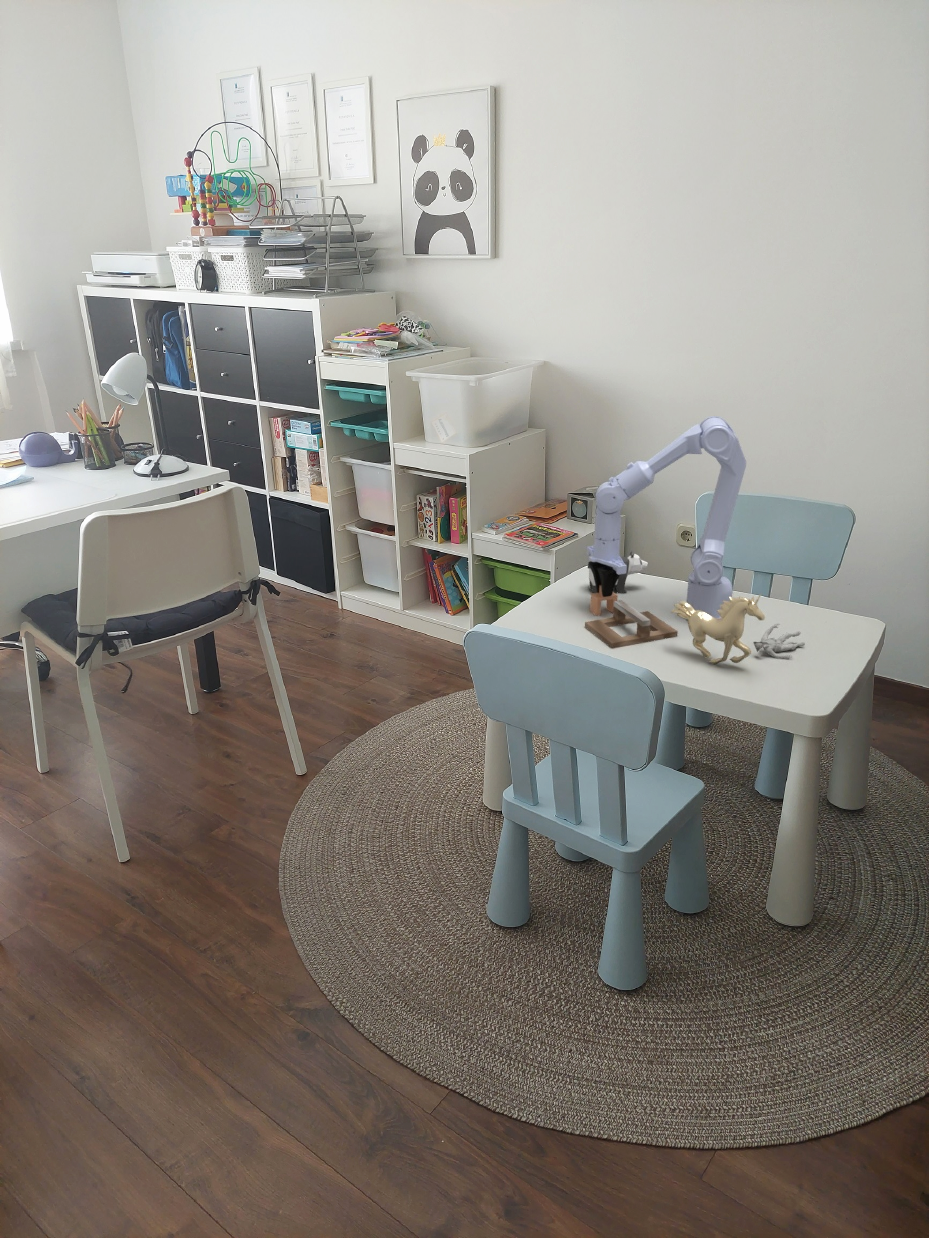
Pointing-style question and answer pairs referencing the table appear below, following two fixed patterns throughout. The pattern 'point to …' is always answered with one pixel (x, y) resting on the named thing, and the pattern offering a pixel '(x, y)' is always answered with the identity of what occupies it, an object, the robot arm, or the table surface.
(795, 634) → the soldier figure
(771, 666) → the table surface
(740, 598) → the unicorn
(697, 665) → the table surface
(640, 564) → the giant panda
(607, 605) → the block
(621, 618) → the brown wooden frame
